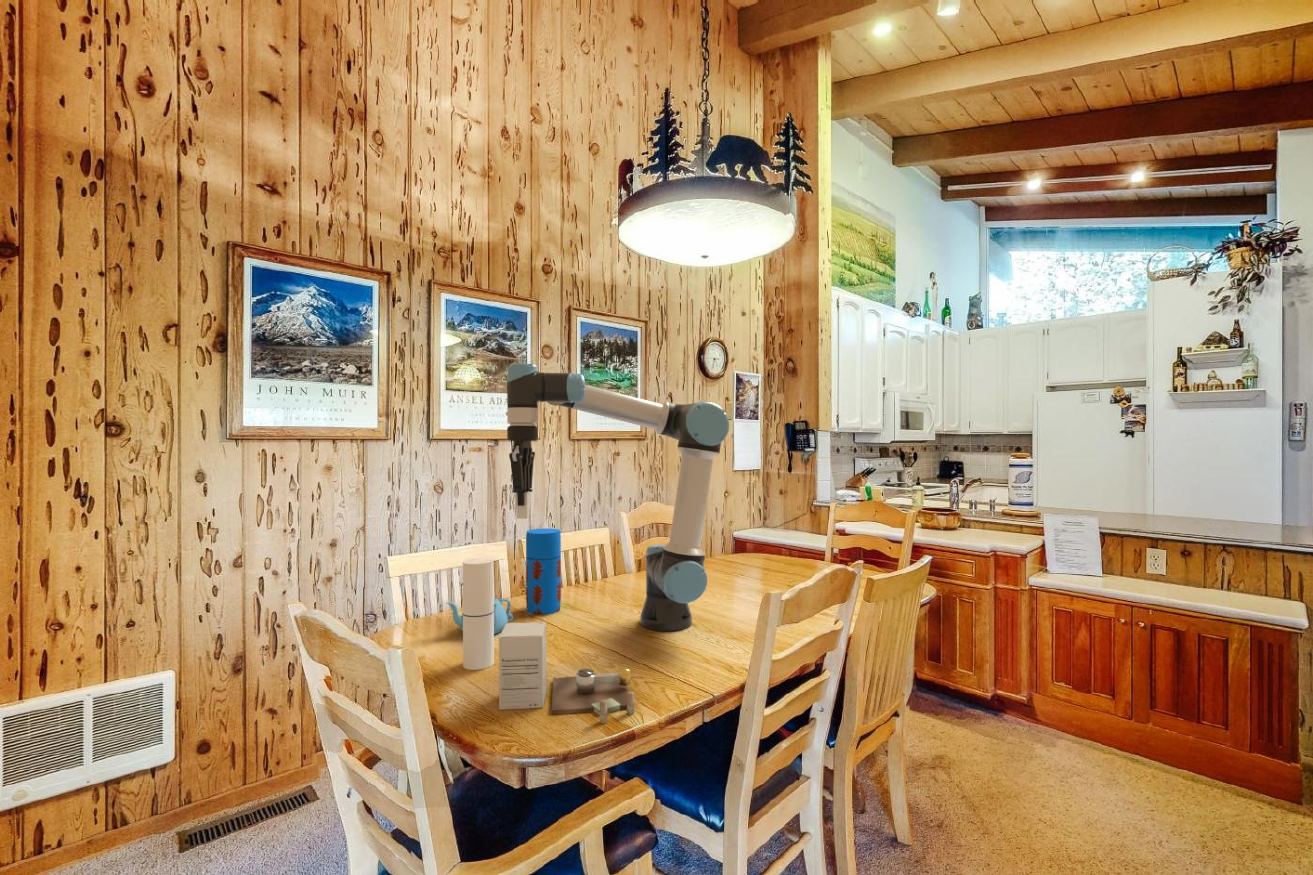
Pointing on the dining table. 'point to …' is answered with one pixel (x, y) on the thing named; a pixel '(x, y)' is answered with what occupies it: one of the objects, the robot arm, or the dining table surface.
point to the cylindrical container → (478, 613)
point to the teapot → (499, 615)
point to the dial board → (590, 698)
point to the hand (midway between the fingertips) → (522, 518)
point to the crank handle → (601, 679)
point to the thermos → (543, 571)
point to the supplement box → (522, 666)
